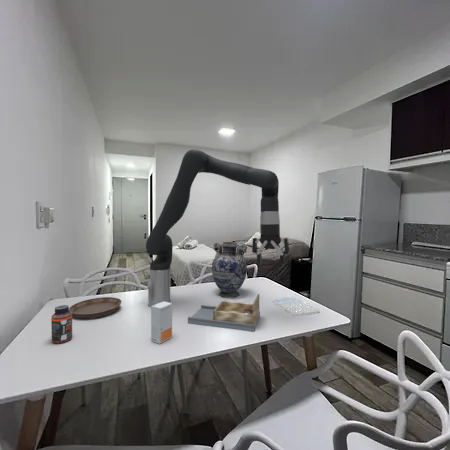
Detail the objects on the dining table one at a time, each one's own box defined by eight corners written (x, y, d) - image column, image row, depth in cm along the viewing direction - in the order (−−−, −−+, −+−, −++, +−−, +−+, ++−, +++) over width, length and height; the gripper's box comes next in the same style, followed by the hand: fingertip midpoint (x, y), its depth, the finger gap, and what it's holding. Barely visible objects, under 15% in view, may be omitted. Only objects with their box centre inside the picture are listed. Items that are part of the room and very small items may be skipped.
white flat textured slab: (294, 317, 108) (294, 313, 108) (271, 302, 127) (271, 298, 127) (320, 313, 113) (321, 309, 113) (294, 299, 132) (294, 296, 131)
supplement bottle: (69, 343, 85) (69, 309, 85) (48, 345, 84) (48, 310, 83) (74, 335, 91) (74, 303, 91) (55, 337, 89) (54, 304, 89)
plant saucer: (64, 324, 100) (64, 316, 100) (73, 307, 120) (73, 299, 120) (121, 317, 108) (121, 309, 108) (121, 301, 127) (121, 295, 127)
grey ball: (241, 321, 98) (241, 314, 98) (243, 318, 101) (243, 311, 101) (250, 322, 97) (250, 314, 97) (251, 319, 100) (251, 311, 100)
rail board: (187, 323, 101) (187, 317, 101) (201, 309, 116) (201, 305, 115) (253, 331, 94) (253, 325, 94) (259, 316, 108) (259, 311, 108)
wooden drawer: (213, 321, 100) (213, 299, 99) (222, 310, 111) (222, 290, 111) (254, 326, 95) (254, 303, 95) (259, 314, 107) (259, 294, 107)
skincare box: (159, 344, 84) (159, 308, 84) (150, 341, 87) (150, 305, 86) (172, 337, 89) (172, 303, 89) (163, 334, 92) (163, 300, 91)
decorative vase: (202, 295, 137) (203, 242, 136) (222, 287, 152) (223, 240, 151) (236, 303, 125) (237, 245, 124) (254, 294, 140) (256, 242, 139)
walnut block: (243, 316, 104) (243, 308, 103) (245, 312, 107) (245, 305, 107) (253, 317, 102) (253, 309, 102) (255, 313, 106) (255, 306, 106)
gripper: (249, 223, 101) (250, 265, 101) (286, 223, 95) (287, 267, 96) (255, 223, 108) (256, 262, 108) (289, 222, 102) (290, 263, 102)
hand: (270, 264), depth 102 cm, fingers open, 8 cm apart
